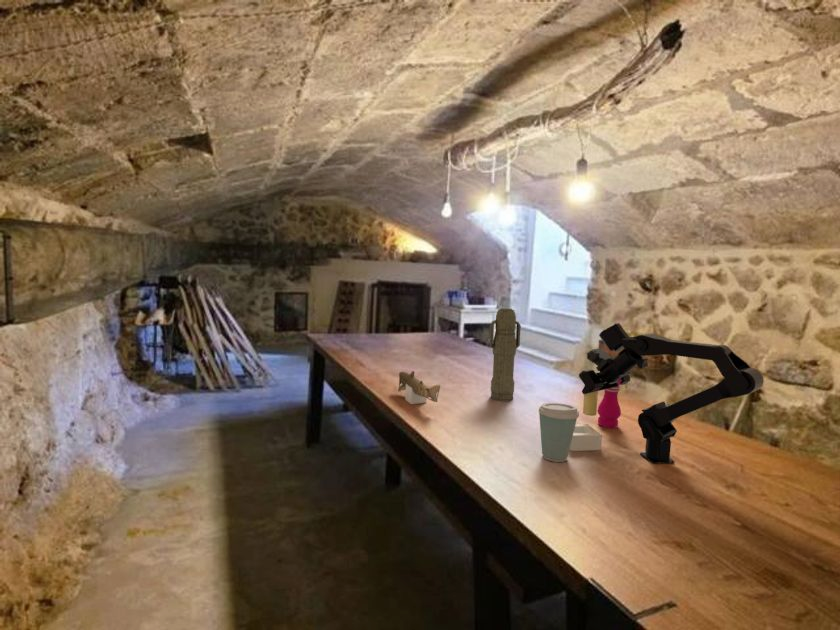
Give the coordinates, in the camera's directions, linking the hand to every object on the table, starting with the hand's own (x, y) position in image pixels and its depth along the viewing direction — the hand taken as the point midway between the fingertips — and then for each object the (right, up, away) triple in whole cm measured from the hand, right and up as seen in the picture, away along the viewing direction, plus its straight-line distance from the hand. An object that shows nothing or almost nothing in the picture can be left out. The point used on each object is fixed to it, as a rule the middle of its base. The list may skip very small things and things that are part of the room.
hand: (587, 391), depth 153 cm
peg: (+1, -7, 0) cm, 7 cm away
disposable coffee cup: (-15, -16, -18) cm, 28 cm away
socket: (-5, -14, -8) cm, 17 cm away
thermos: (-20, -9, +39) cm, 45 cm away
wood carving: (-53, -9, +30) cm, 61 cm away
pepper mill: (+10, -13, +11) cm, 20 cm away
